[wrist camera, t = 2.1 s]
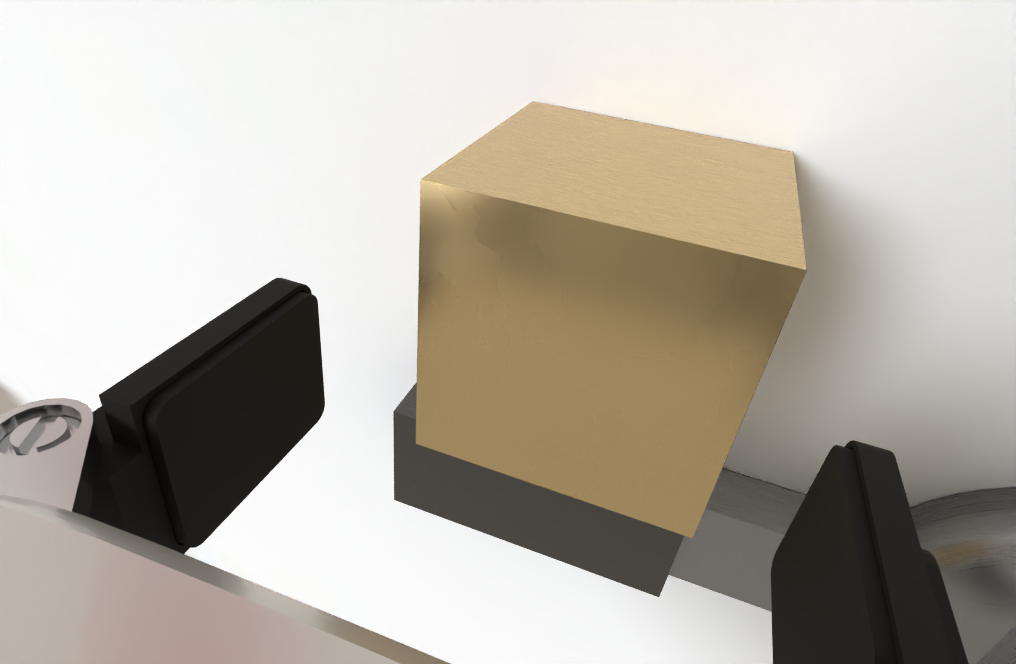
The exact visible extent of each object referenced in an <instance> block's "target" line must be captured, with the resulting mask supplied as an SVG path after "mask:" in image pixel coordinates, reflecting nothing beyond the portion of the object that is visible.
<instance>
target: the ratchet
mask: <svg viewBox="0 0 1016 664" xmlns="http://www.w3.org/2000/svg"><path fill="white" fill-rule="evenodd" d="M416 401H417V383H416V384H415V385H414V386H413V388H412V389H411V390H410V391H409V393H408V394H407V395H406V396H405V398H404V399H403V400H402V401H401V403H400V404H399V405H398V407H397V408H396V409H395V410H394V500H396V501H399V502H402V503H404V504H407V505H410V506H413V507H415V508H418V509H421V510H423V511H426V512H429V513H432V514H434V515H437V516H440V517H442V518H445V519H448V520H451V521H453V522H456V523H459V524H461V525H464V526H467V527H470V528H472V529H475V530H478V531H480V532H483V533H486V534H489V535H491V536H494V537H497V538H499V539H502V540H505V541H508V542H510V543H513V544H516V545H519V546H521V547H524V548H527V549H529V550H532V551H535V552H538V553H540V554H543V555H546V556H548V557H551V558H554V559H557V560H559V561H562V562H565V563H567V564H570V565H573V566H576V567H578V568H581V569H584V570H586V571H589V572H592V573H595V574H597V575H600V576H603V577H605V578H608V579H611V580H614V581H616V582H619V583H622V584H624V585H627V586H630V587H633V588H635V589H638V590H641V591H644V592H646V593H649V594H652V595H654V596H657V597H659V596H660V593H661V591H662V589H663V586H664V584H665V581H666V579H667V576H668V575H671V576H674V577H677V578H680V579H682V580H685V581H688V582H691V583H693V584H696V585H699V586H702V587H705V588H707V589H710V590H713V591H716V592H719V593H721V594H724V595H727V596H730V597H733V598H735V599H738V600H741V601H744V602H746V603H749V604H752V605H755V606H758V607H760V608H763V609H766V610H769V611H772V603H771V566H772V561H773V558H774V555H775V553H776V550H777V549H778V547H779V545H780V543H781V541H782V539H783V537H784V536H785V534H786V532H787V530H788V528H789V526H790V524H791V523H792V521H793V519H794V517H795V515H796V513H797V511H798V510H799V508H800V506H801V504H802V502H803V500H804V498H805V497H806V495H804V494H801V493H798V492H795V491H791V490H788V489H785V488H782V487H779V486H776V485H772V484H769V483H766V482H763V481H760V480H756V479H753V478H750V477H747V476H744V475H740V474H737V473H734V472H731V471H728V470H724V469H722V470H721V472H720V475H719V477H718V479H717V482H716V484H715V486H714V489H713V491H712V493H711V496H710V498H709V500H708V503H707V505H706V508H705V510H704V512H703V515H702V517H701V519H700V522H699V524H698V526H697V529H696V531H695V533H694V536H693V538H690V537H687V536H684V535H681V534H678V533H675V532H673V531H670V530H667V529H664V528H661V527H658V526H655V525H652V524H649V523H646V522H643V521H640V520H637V519H635V518H632V517H629V516H626V515H623V514H620V513H617V512H614V511H611V510H608V509H605V508H602V507H599V506H597V505H594V504H591V503H588V502H585V501H582V500H579V499H576V498H573V497H570V496H567V495H564V494H561V493H559V492H556V491H553V490H550V489H547V488H544V487H541V486H538V485H535V484H532V483H529V482H526V481H523V480H521V479H518V478H515V477H512V476H509V475H506V474H503V473H500V472H497V471H494V470H491V469H488V468H485V467H483V466H480V465H477V464H474V463H471V462H468V461H465V460H462V459H459V458H456V457H453V456H450V455H447V454H445V453H442V452H439V451H436V450H433V449H430V448H427V447H424V446H421V445H418V444H416ZM910 511H911V515H912V518H913V522H914V525H915V529H916V532H917V536H918V539H919V543H920V546H921V549H924V550H927V551H929V552H930V553H931V554H932V555H933V556H934V557H935V559H936V561H937V563H938V565H939V568H940V572H941V575H942V578H943V581H944V585H945V588H946V591H947V594H948V598H949V601H950V604H951V608H952V611H953V614H954V617H955V621H956V624H957V627H958V630H959V634H960V637H961V640H962V644H963V647H964V650H965V653H966V657H967V660H968V663H969V664H1016V488H1003V489H991V490H980V491H974V492H968V493H962V494H957V495H952V496H948V497H944V498H940V499H937V500H933V501H929V502H927V503H924V504H921V505H918V506H916V507H913V508H910Z"/></svg>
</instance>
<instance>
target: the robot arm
mask: <svg viewBox="0 0 1016 664" xmlns="http://www.w3.org/2000/svg"><path fill="white" fill-rule="evenodd" d="M99 397H100V400H101V403H102V406H101V407H100V408H98V409H97V410H95V411H94V412H92V411H91V409H90V408H89V407H88V406H87V405H86V404H84V403H82V402H80V401H77V400H72V399H65V398H58V399H45V400H40V401H35V402H30V403H28V404H25V405H22V406H19V407H17V408H14V409H12V410H10V411H9V412H6V413H4V414H3V415H1V416H0V664H450V663H447V662H445V661H443V660H440V659H438V658H435V657H433V656H431V655H428V654H426V653H423V652H421V651H418V650H416V649H414V648H411V647H409V646H406V645H404V644H402V643H399V642H397V641H394V640H392V639H389V638H387V637H385V636H382V635H380V634H377V633H375V632H373V631H370V630H368V629H365V628H363V627H360V626H358V625H356V624H353V623H351V622H348V621H346V620H343V619H341V618H339V617H336V616H334V615H331V614H329V613H326V612H324V611H322V610H319V609H317V608H314V607H312V606H310V605H307V604H305V603H302V602H300V601H297V600H295V599H293V598H290V597H288V596H285V595H283V594H280V593H278V592H275V591H273V590H270V589H268V588H265V587H263V586H261V585H258V584H256V583H253V582H251V581H248V580H246V579H243V578H241V577H238V576H236V575H234V574H231V573H229V572H226V571H224V570H221V569H219V568H216V567H214V566H211V565H209V564H206V563H204V562H202V561H199V560H197V559H194V558H192V557H189V556H187V555H184V553H185V552H186V551H187V550H188V549H189V548H190V547H192V548H193V547H197V546H199V545H201V544H202V543H203V542H204V541H205V540H206V539H207V538H208V537H209V536H210V535H211V534H212V533H213V532H214V531H215V529H216V528H217V527H218V526H219V525H220V524H221V523H222V522H223V521H224V520H225V519H226V518H227V517H228V516H229V515H230V514H231V513H232V512H233V510H234V509H235V508H236V507H237V506H238V505H239V504H240V503H241V502H242V501H243V500H244V499H245V498H246V497H247V496H248V495H249V494H250V493H251V491H252V490H253V489H254V488H255V487H256V486H257V485H258V484H259V483H260V482H261V481H262V480H263V479H264V478H265V477H266V476H267V475H268V474H269V473H270V471H271V470H272V469H273V468H274V467H275V466H276V465H277V464H278V463H279V462H280V461H281V460H282V459H283V458H284V457H285V456H286V455H287V454H288V452H289V451H290V450H291V449H292V448H293V447H294V446H295V445H296V444H297V443H298V442H299V441H300V440H301V439H302V438H303V437H304V436H305V435H306V433H307V432H308V431H309V430H310V429H311V428H312V427H313V426H314V425H315V424H316V423H317V422H318V421H319V419H320V418H321V416H322V413H323V411H324V406H325V399H324V385H323V371H322V357H321V342H320V328H319V314H318V302H317V298H316V297H315V296H314V295H312V293H311V290H310V288H309V287H308V286H307V285H304V284H301V283H297V282H294V281H290V280H287V279H283V278H276V279H274V280H272V281H271V282H269V283H268V284H266V285H265V286H263V287H262V288H260V289H259V290H257V291H256V292H254V293H253V294H251V295H249V296H248V297H246V298H245V299H243V300H242V301H240V302H239V303H237V304H236V305H234V306H233V307H231V308H230V309H228V310H227V311H225V312H224V313H222V314H221V315H219V316H218V317H216V318H215V319H213V320H212V321H210V322H209V323H207V324H206V325H204V326H203V327H201V328H200V329H198V330H197V331H195V332H194V333H192V334H191V335H189V336H188V337H186V338H185V339H183V340H182V341H180V342H178V343H177V344H175V345H174V346H172V347H171V348H169V349H168V350H166V351H165V352H163V353H162V354H160V355H159V356H157V357H156V358H154V359H153V360H151V361H150V362H148V363H147V364H145V365H144V366H142V367H141V368H139V369H138V370H136V371H135V372H133V373H132V374H130V375H129V376H127V377H126V378H124V379H123V380H121V381H120V382H118V383H117V384H115V385H114V386H112V387H111V388H109V389H107V390H106V391H104V392H103V393H101V394H100V395H99ZM771 603H772V640H773V664H969V663H968V660H967V657H966V653H965V650H964V647H963V644H962V640H961V637H960V634H959V630H958V627H957V624H956V621H955V617H954V614H953V611H952V608H951V604H950V601H949V598H948V594H947V591H946V588H945V585H944V581H943V578H942V575H941V572H940V568H939V565H938V563H937V561H936V559H935V557H934V556H933V555H932V554H931V553H930V552H929V551H927V550H924V549H921V546H920V543H919V539H918V536H917V532H916V529H915V525H914V522H913V518H912V515H911V511H910V507H909V504H908V500H907V497H906V493H905V490H904V486H903V483H902V479H901V476H900V472H899V469H898V465H897V462H896V458H895V456H894V454H893V453H892V452H891V451H889V450H885V449H882V448H878V447H875V446H871V445H868V444H864V443H861V442H857V441H854V440H853V441H850V442H849V443H847V444H846V446H845V447H841V446H838V445H835V446H834V447H833V448H832V449H831V450H830V452H829V454H828V456H827V458H826V459H825V461H824V463H823V465H822V467H821V469H820V471H819V472H818V474H817V476H816V478H815V480H814V482H813V484H812V485H811V487H810V489H809V491H808V493H807V495H806V497H805V498H804V500H803V502H802V504H801V506H800V508H799V510H798V511H797V513H796V515H795V517H794V519H793V521H792V523H791V524H790V526H789V528H788V530H787V532H786V534H785V536H784V537H783V539H782V541H781V543H780V545H779V547H778V549H777V550H776V553H775V555H774V558H773V561H772V566H771Z"/></svg>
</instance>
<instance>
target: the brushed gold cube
mask: <svg viewBox="0 0 1016 664" xmlns="http://www.w3.org/2000/svg"><path fill="white" fill-rule="evenodd" d="M806 270H807V269H806V260H805V251H804V242H803V234H802V225H801V216H800V207H799V198H798V190H797V181H796V172H795V163H794V154H793V152H790V151H785V150H780V149H775V148H769V147H764V146H759V145H754V144H749V143H744V142H739V141H733V140H728V139H723V138H718V137H713V136H708V135H703V134H698V133H692V132H687V131H682V130H677V129H672V128H667V127H662V126H656V125H651V124H646V123H641V122H636V121H631V120H626V119H620V118H615V117H610V116H605V115H600V114H595V113H590V112H584V111H579V110H574V109H569V108H564V107H559V106H554V105H548V104H543V103H538V102H531V103H530V104H528V105H527V106H526V107H524V108H523V109H521V110H520V111H518V112H517V113H516V114H514V115H513V116H511V117H510V118H508V119H507V120H505V121H504V122H503V123H501V124H500V125H498V126H497V127H495V128H494V129H493V130H491V131H490V132H488V133H487V134H485V135H484V136H482V137H481V138H480V139H478V140H477V141H475V142H474V143H472V144H471V145H470V146H468V147H467V148H465V149H464V150H462V151H461V152H459V153H458V154H457V155H455V156H454V157H452V158H451V159H449V160H448V161H447V162H445V163H444V164H442V165H441V166H439V167H438V168H436V169H435V170H434V171H432V172H431V173H429V174H428V175H426V176H425V177H423V178H422V179H421V191H420V243H419V296H418V348H417V401H416V444H418V445H421V446H424V447H427V448H430V449H433V450H436V451H439V452H442V453H445V454H447V455H450V456H453V457H456V458H459V459H462V460H465V461H468V462H471V463H474V464H477V465H480V466H483V467H485V468H488V469H491V470H494V471H497V472H500V473H503V474H506V475H509V476H512V477H515V478H518V479H521V480H523V481H526V482H529V483H532V484H535V485H538V486H541V487H544V488H547V489H550V490H553V491H556V492H559V493H561V494H564V495H567V496H570V497H573V498H576V499H579V500H582V501H585V502H588V503H591V504H594V505H597V506H599V507H602V508H605V509H608V510H611V511H614V512H617V513H620V514H623V515H626V516H629V517H632V518H635V519H637V520H640V521H643V522H646V523H649V524H652V525H655V526H658V527H661V528H664V529H667V530H670V531H673V532H675V533H678V534H681V535H684V536H687V537H690V538H693V536H694V533H695V531H696V529H697V526H698V524H699V522H700V519H701V517H702V515H703V512H704V510H705V508H706V505H707V503H708V500H709V498H710V496H711V493H712V491H713V489H714V486H715V484H716V482H717V479H718V477H719V475H720V472H721V470H722V468H723V465H724V463H725V461H726V458H727V456H728V454H729V451H730V449H731V446H732V444H733V442H734V439H735V437H736V435H737V432H738V430H739V428H740V425H741V423H742V421H743V418H744V416H745V414H746V411H747V409H748V407H749V404H750V402H751V400H752V397H753V395H754V392H755V390H756V388H757V385H758V383H759V381H760V378H761V376H762V374H763V371H764V369H765V367H766V364H767V362H768V360H769V357H770V355H771V353H772V350H773V348H774V346H775V343H776V341H777V338H778V336H779V334H780V331H781V329H782V327H783V324H784V322H785V320H786V317H787V315H788V313H789V310H790V308H791V306H792V303H793V301H794V299H795V296H796V294H797V291H798V289H799V287H800V284H801V282H802V280H803V277H804V275H805V273H806Z"/></svg>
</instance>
